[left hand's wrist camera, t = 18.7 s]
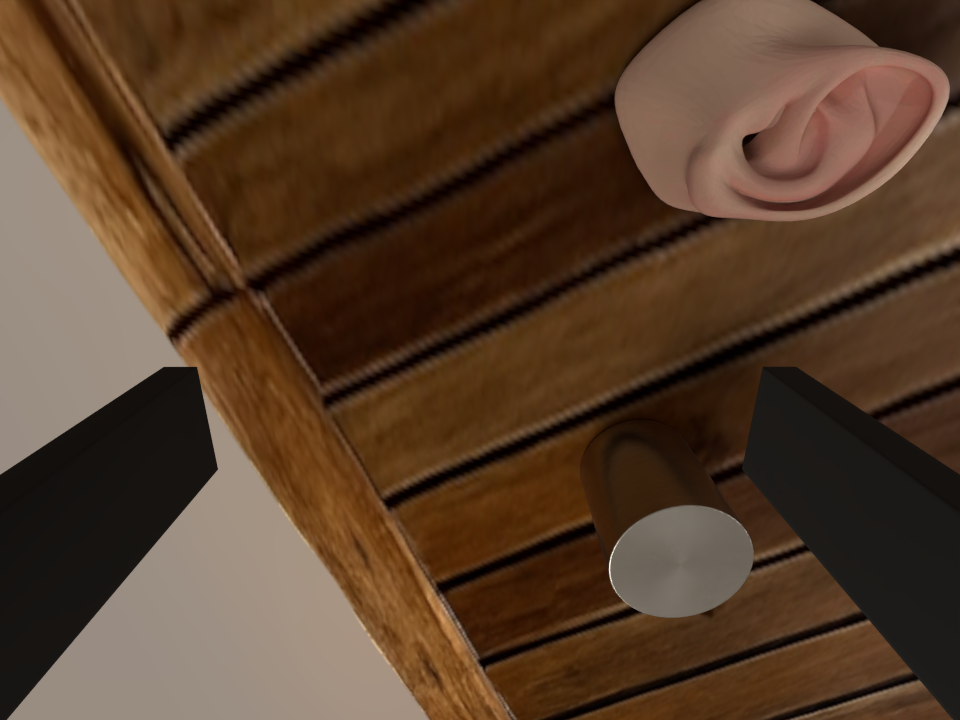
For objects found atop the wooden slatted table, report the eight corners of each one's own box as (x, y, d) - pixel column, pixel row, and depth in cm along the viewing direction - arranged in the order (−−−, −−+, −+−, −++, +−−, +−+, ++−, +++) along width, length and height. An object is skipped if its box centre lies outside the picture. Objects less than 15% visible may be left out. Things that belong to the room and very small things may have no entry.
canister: (676, 403, 34) (738, 487, 26) (701, 494, 36) (765, 596, 28) (565, 440, 35) (591, 531, 27) (598, 525, 37) (630, 632, 29)
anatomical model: (592, 133, 24) (780, -132, 21) (578, 135, 28) (735, -89, 24) (797, 294, 27) (994, 85, 23) (759, 277, 30) (924, 93, 27)
